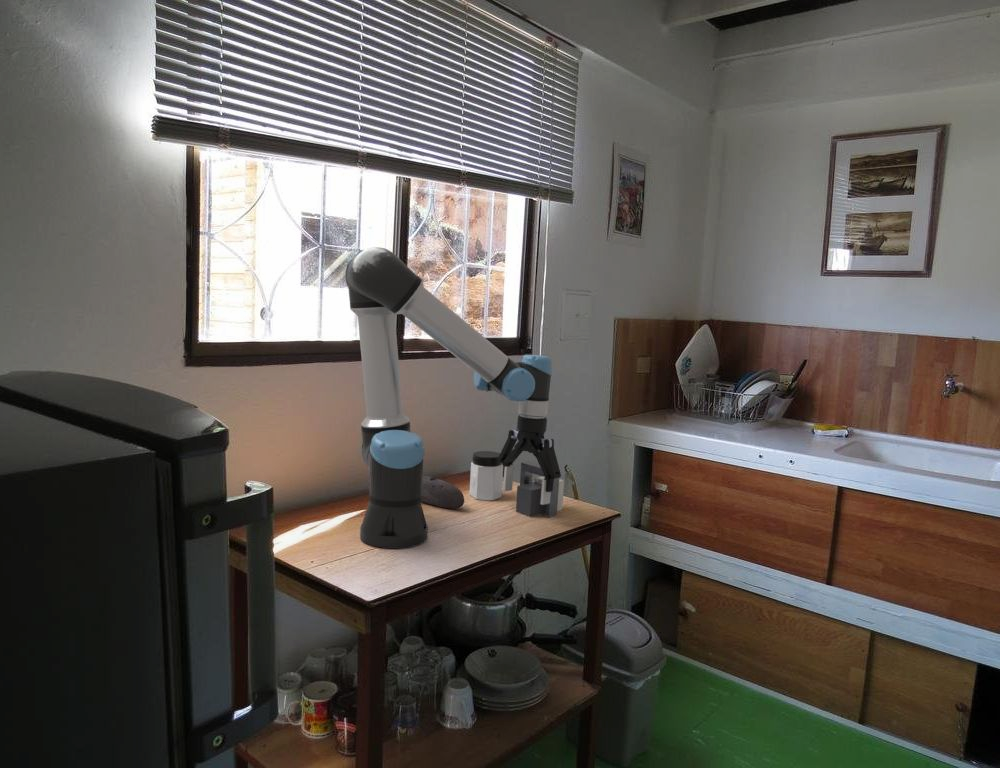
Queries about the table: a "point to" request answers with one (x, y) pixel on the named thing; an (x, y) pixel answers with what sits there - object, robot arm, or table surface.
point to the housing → (535, 468)
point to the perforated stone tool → (441, 493)
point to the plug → (535, 498)
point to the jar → (486, 476)
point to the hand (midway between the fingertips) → (525, 497)
